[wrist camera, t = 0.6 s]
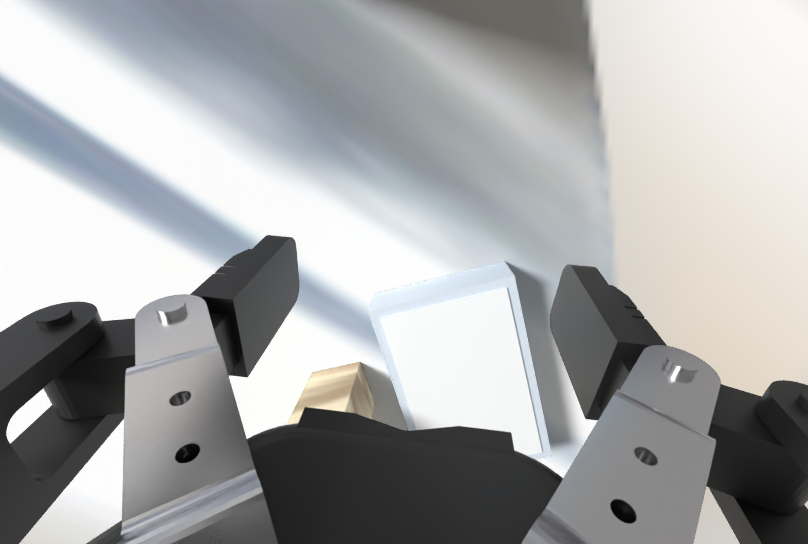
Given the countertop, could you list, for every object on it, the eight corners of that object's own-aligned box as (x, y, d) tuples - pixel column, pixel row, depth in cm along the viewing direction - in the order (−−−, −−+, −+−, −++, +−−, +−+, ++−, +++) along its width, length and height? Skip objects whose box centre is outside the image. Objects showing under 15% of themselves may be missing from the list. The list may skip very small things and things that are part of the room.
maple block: (312, 372, 38) (264, 469, 27) (359, 361, 37) (331, 456, 26) (328, 413, 39) (290, 521, 28) (374, 403, 39) (354, 510, 27)
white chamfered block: (374, 293, 35) (367, 312, 31) (504, 261, 33) (515, 276, 29) (424, 447, 40) (424, 480, 36) (539, 425, 39) (552, 457, 35)
